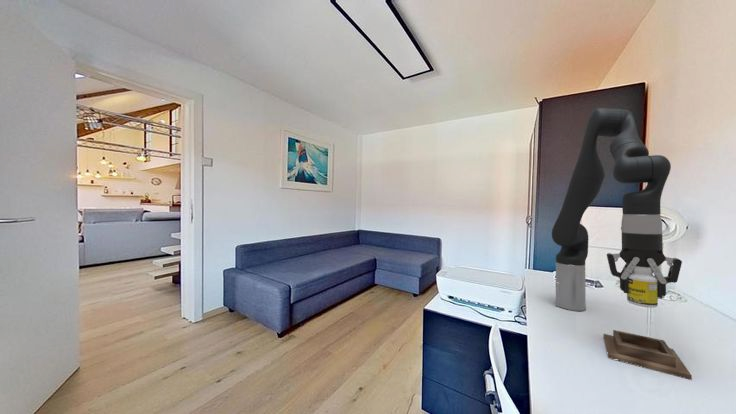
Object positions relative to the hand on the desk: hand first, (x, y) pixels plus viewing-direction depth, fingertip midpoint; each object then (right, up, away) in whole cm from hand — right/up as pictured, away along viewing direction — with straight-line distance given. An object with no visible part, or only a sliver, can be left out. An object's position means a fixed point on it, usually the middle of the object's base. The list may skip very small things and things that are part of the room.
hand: (642, 294), depth 70 cm
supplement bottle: (0, -3, 0) cm, 3 cm away
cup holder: (0, -16, 0) cm, 16 cm away
